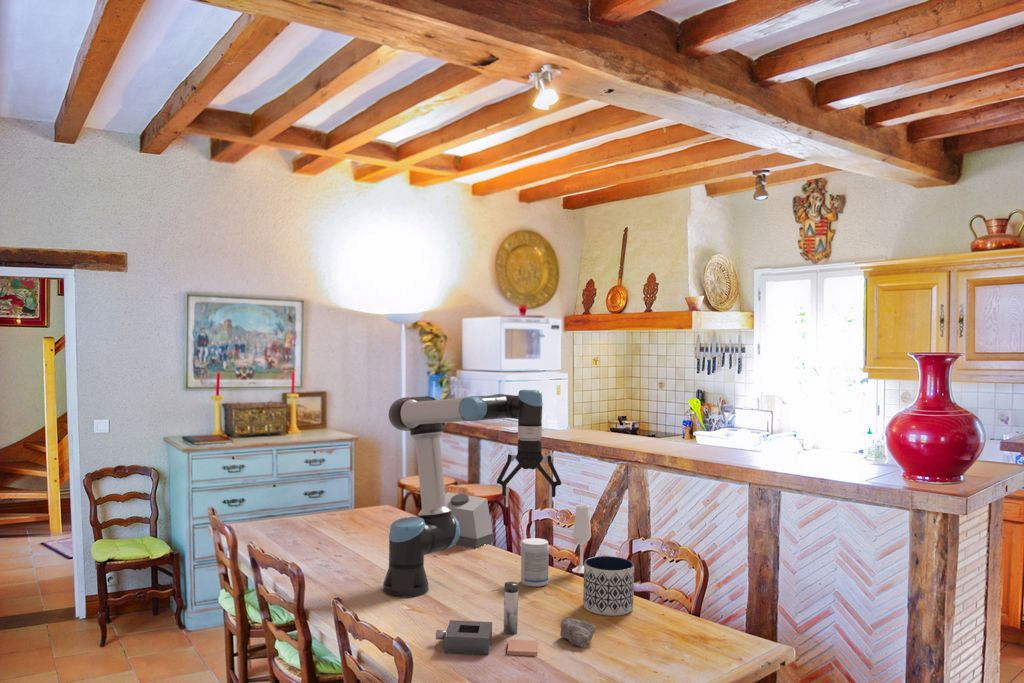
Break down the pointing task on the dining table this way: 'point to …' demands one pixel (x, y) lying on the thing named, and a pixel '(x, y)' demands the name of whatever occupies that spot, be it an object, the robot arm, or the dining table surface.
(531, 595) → the dining table surface
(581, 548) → the champagne flute
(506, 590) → the grey tall cylinder
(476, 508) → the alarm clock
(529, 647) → the coaster
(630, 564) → the planter
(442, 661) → the dining table surface
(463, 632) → the block
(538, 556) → the supplement tub
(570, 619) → the stone
